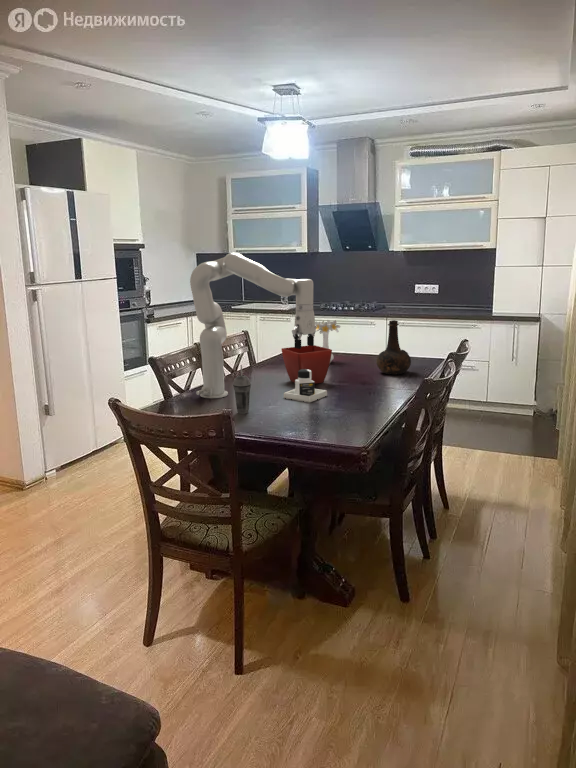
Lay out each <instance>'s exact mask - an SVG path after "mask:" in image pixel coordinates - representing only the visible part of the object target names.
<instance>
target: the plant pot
mask: <svg viewBox="0 0 576 768" xmlns="http://www.w3.org/2000/svg"><path fill="white" fill-rule="evenodd" d="M331 354H333V349H331V348H329V349H328V348H324V347H323V346H319V345H315V344H314V346H309V345H301V349H297V348H295V346H291V347H282V348H281V355H282V358H283V363H284V366H285V370H286V373H287V375H288V378H289V380H290V382H292V383H294V384H295V380H296V379H298V371H299V370H301V369H309V370H311V373H312V379H311V380H313V381H314V382H315V384H322V383H324V382H325V380H326V376H327V374H328V371H329V367H330V364H331V363H330V360H331Z"/></svg>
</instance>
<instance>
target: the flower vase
mask: <svg viewBox="0 0 576 768" xmlns="http://www.w3.org/2000/svg"><path fill="white" fill-rule="evenodd" d="M326 321H327V322H325V320H322V322H321V321H319V322H318V321H316V320H315V326H316V330H315V331H316V332H318V331H319V333H318V334H319V335H320V334H322V347H324V348H328V349H330V348H329V334H330V332H333V331H335V332H336V333H339V329H340V328H341V325H338V324H337V320H336V319H335V320H333V321H331V320H330V319H327V320H326ZM334 358H335V357H334V354H333V353H332V354H331V360H330V364H331V363H332V361H333V360H334Z"/></svg>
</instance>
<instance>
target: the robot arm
mask: <svg viewBox="0 0 576 768" xmlns="http://www.w3.org/2000/svg"><path fill="white" fill-rule="evenodd" d="M233 275H235V276H237V277H239V278H241V279H242V278H243V279H244V280H246V281H248V282H251V283H253V284H255V285H256V286H258V287H261V288H262V289H264V290H266V291H268V292H271V293H273V294H275V295H278V296H280V297H281V298H288V297H290V296H295V315H294V327H293V328H292V330H291V333H292V337H293V339H294V347H295V348H297V349H301V346H302V339H301V338H302V336H305V335H307V336H306V341H307V342H306V346H314V345H315V334H316V332H317V331H315V330H316V327H317V326H316V325H315V322H316V317H315V316H316V315H315V312H314V281H313V280H312V279H310V278H300V279H296V278H285V277H282V276H280V275H277V274H275V273H273V272H271V271H270V270H269V269H267V268H266V267H265V266H264V265H263V264H260V263H259V262H256V261H253V260H252V259H249V258H248V257H245V256H244V255H243V254H241V253H239V252H229V253H228V254H226V255H225V256H224V257H221V258H218V259H215V260H211V261H205V262H201V263H200V264H198V265H197V266H196V267H194V268H193V271H192V272H191V274H190V279H189V283H190V285H189V286H190V291H191V294H192V295H191V296H192V298H193V299H192V300H193V304H194V310H195V313H196V319H197V320H198V321H199V323H202V324H204V327H205V328H204V329H203V330H202V331H201V332H200V335H199V345H200V346H199V347H200V353H201V364H202V366H201V367H202V383H203V386H202V387H201V389H199V390H196V392H195V394H196V395H197V396H200V397H201V398H205V399H221V398H226V397H227V396H229V392H228V391H227V390H225V379H224V378H225V376H224V375H225V373H224V371H225V370H224V354H223V347H222V346H223V345H222V344H223V343H224V342H225V341H226V339H227V336H228V335H227V328H226V323H225V319H224V314H223V309H222V307H221V306H220V304H219V303H217V302H215V300H214V298H213V292H212V290H211V287H210V282H214V281H215V282H216V281H219V280H221V279H223V278H226V277H229V276H233Z"/></svg>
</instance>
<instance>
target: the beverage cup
mask: <svg viewBox="0 0 576 768" xmlns="http://www.w3.org/2000/svg"><path fill="white" fill-rule="evenodd" d="M232 385H233V391H234V397H235V403H236V404H235V405H236V411H237V412H238V413H239V414H238V413H237V414H238V415H246V414H245V413H247V414H248V413H249V409H250V394H251V386H252V384H251V380H250V378H249V377H248V376H247V375H244V374H243V365H242V364H240V375H237V376H236V377H235V378H234V379H233V384H232Z"/></svg>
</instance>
